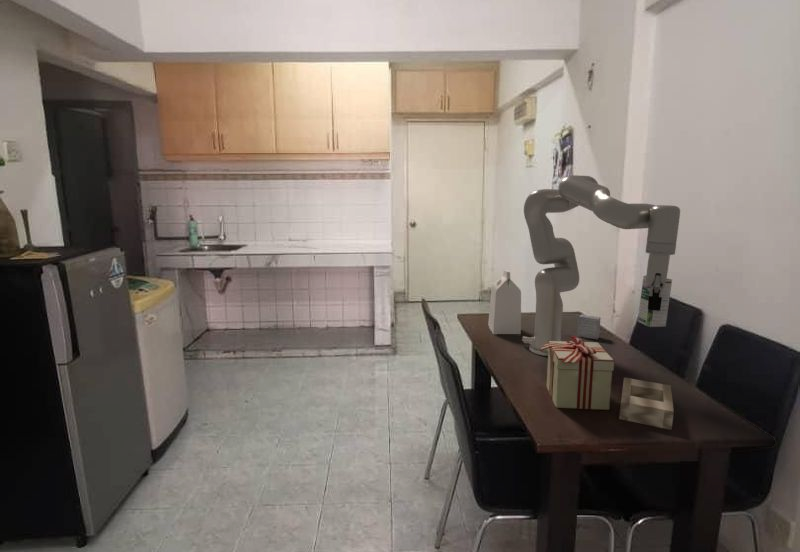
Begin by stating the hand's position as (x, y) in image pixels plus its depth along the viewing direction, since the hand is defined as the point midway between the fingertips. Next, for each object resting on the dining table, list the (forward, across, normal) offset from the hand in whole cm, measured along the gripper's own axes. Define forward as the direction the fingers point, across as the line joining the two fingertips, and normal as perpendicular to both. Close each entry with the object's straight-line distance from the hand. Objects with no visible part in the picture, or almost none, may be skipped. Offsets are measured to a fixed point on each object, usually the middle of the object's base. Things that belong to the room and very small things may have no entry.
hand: (653, 306), depth 138 cm
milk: (+26, -37, -54) cm, 70 cm away
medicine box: (+26, -45, -21) cm, 56 cm away
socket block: (+26, +17, 0) cm, 31 cm away
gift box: (+26, +20, -19) cm, 37 cm away
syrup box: (+6, 0, 0) cm, 6 cm away
